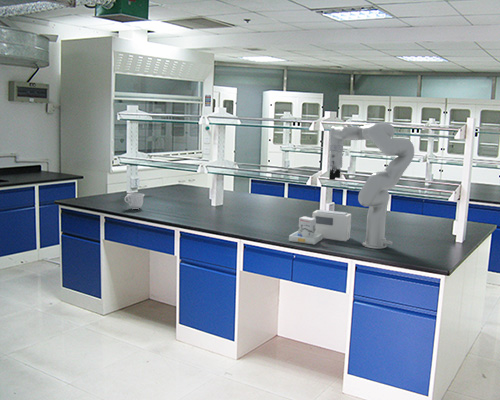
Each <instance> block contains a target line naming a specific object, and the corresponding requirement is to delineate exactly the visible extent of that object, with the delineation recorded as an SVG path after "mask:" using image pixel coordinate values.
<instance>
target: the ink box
mask: <svg viewBox="0 0 500 400" xmlns="http://www.w3.org/2000/svg"><path fill="white" fill-rule="evenodd" d="M315 229H316V219H315V218H312V217H310V216H306V215H305V216H301V217H299V218H298V230H297V231H298V236H299V237H306V238H313V239H314V238H315Z"/></svg>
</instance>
